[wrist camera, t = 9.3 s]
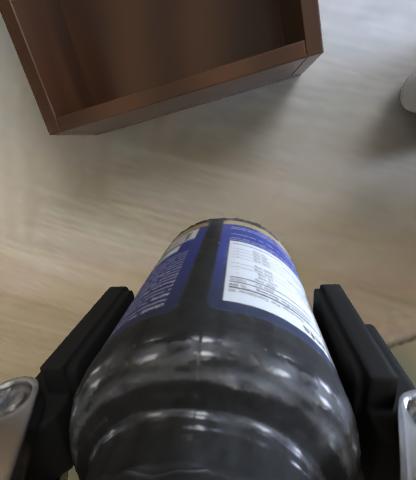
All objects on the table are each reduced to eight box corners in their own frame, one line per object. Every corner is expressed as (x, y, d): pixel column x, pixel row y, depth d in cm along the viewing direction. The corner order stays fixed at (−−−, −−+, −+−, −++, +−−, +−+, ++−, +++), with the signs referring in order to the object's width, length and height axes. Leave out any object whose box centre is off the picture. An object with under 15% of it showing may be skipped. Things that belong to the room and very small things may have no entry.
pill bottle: (179, 337, 15) (40, 781, 5) (147, 226, 13) (-207, 566, 3) (302, 324, 14) (469, 866, 4) (286, 200, 12) (544, 608, 2)
